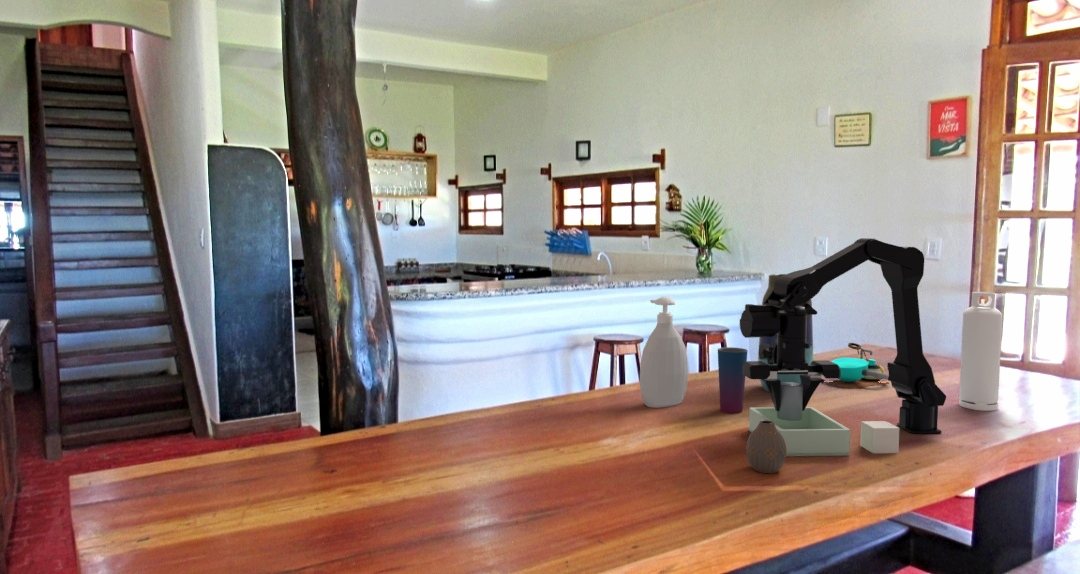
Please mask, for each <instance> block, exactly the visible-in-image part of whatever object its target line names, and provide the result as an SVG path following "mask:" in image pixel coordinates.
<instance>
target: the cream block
mask: <svg viewBox="0 0 1080 574" xmlns="http://www.w3.org/2000/svg"><path fill="white" fill-rule="evenodd" d="M899 443H900V427H899V426H897V425H894V424H893V423H891V422H888V421H886V420H885V421H884V420H875V421H874V420H873V421H872V420H869V421H868V420H867V421H865V420H864V421H862V420H861V421H860V444H859V445H860V446H861V448H864V449H866V450H867V451H869V452H870V453H871V454H899V447H900V445H899Z"/></svg>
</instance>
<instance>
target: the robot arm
mask: <svg viewBox="0 0 1080 574" xmlns="http://www.w3.org/2000/svg"><path fill="white" fill-rule="evenodd" d="M867 261H870V262H872V263H873V264H876V265H880V269H881V270H880V271H881V272H882V273H881V274H882V277H883V278H884V280H885V281H886V283H887V285H888V287H889V288H890V291H891V299H892V312H893V322H894V332H895V334H894V335H895V344H896V346H895V347H896V356H895V358H894V360H893V362H887V371H888V375H889V377H888V379H887V380H888V382H890V383H891V386H892V388H893V389H894V390H895V392H896V396H897V398H900V399H901V406H900V407H899V413H898V414H899V416H898V417H899V418H898V422H897V423H896V427H898V428H901V429H903V430H904V431H907V432H909V433H911V434H942V431H943V430H941V429H939V428H938V423H939V422H938V419H939V417H938V416H939V407H943V406H944V405H945V403H946V399H947V395H946V394H945V393H944V392H943V391H942V389H941V388H939V386H938V385H937V384H936V380H935V376H934V373H933V368H932V366H931V365H930V363H929V361H928V360H927V358H926V356H925V355H924V350H923V348H924V347H923V341H922V327H921V317H920V316H921V315H920V305H919V294H918V291H919V290H918V287H919V285H920V283H921V281H922V279H923V277H924V271H925V254H924V253H923V251H921V250H920V249H919V248H917V247H916V246H899V245H896V244H891V243H888V242H884V241H881V240H879V239H876V238H869V237H868V238H858V239H857V240H855V241H854V242H853V243H852V244H849V245H847V246H846V247H844V248H843V249H841V250H839V251H837V252H835V253H834V254H832V255H830V256H828V257H826V258H824V259H823V260H821V261H820V262H818V263H816V264H814V265H813V266H810V267H807V268H804V269H799V270H794V271H791V272H789V273H785V274H786V275H783V276H780V277H779V278H778V279H777V280H776V281H775V285H774V289H773V290H772V292H771V293H770V294H769V296H768V297H767V299H766V300H765V301H764V303H763V305H762V304H753V303H752V304H751V303H746V304H745V305H744V309H743V311H742V312H741V316H740V318H739V329H740V332H741V335H742V336H743V337H744V338H746V339H748V338H759V337H773V336H775V334H776V333H777V339H775V342H774V347H770V345H769V344H760V345H759V344H758V350H759V358H760V359H767V361H768V364H769V365H768V364H766V363H764V362H762V361H758V360H750V361H749V360H747V361H745V363H744V364H743V366H742V374H743V375H745V378H746V377H747V378H748V379H750V380H759V379H760V380H762V381H764V382H765V383H766V385H767V387H768V389H769V392H768V393H769V395H770V398H771V401H772V403H773V406H774V407H775V410H776V411H779V408H780V391H781V390H780V389H781V381H780V380H778V379H777V374H803V375H800V379H801V384H802V385H803V407H802V411H804V410H805V408H806V407H808V403H809V402H810V400H811V398H812V396H813V395H814V393H815V391H816V390H817V388H818V387H819V385H820V384H823V383H825V382H824V380H825V379H829V380H835V379H838V378H840V377H841V370H840V367H839V366H838V364H835V363H833V362H831V361H830V360H813V361H812V362H811V365H808V363H806V348H809V343H807V342H806V331H807V315H812V316H813V315H814V316H815V315H817V314H818V311H817V310H816V309H815V308H814V307H813V306H812V307H811V305H810V304H809V303H807V302H808V301H809V300H812V299H813V298H814V297H815V296H817V295H818V294H819V293H820V291H821V290H822V289H823V287H824V286H826V284H828V283H829V282H831V281H833V280H835V279H836V278H839V277H840V276H842V275H845V273H848V272H849V271H851V270H853V269H854V268H856V267H858V266H860V265H861V264H863V263H865V262H867ZM780 301H782V302H780ZM797 305H800V306H797ZM779 310H782V311H779ZM773 364H776V365H773ZM783 369H784V370H783ZM785 369H786V370H785ZM787 369H788V370H787ZM795 369H800V370H795ZM822 376H823V377H824V378H825V379H824V378H822Z"/></svg>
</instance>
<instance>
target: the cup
mask: <svg viewBox="0 0 1080 574" xmlns="http://www.w3.org/2000/svg"><path fill="white" fill-rule="evenodd" d="M748 352H749V351H748V349H747V348H742V347H719V348H717V365H718V367H717V368H718V387H719V389H718V390H719V392H718V393H719V408H720V409H719V410H720V412H722V413H724V414H731V415H735V414H742V413H743V409H744V397H745V383H746V376H745V375H743V374H742V366H743V364H744V363H745V361H748Z"/></svg>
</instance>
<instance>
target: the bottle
mask: <svg viewBox="0 0 1080 574" xmlns="http://www.w3.org/2000/svg"><path fill="white" fill-rule="evenodd" d="M981 296H982V297H987V298H988V300H987V302H986V303H985V301H986V299H983V298H982V299H980V301H981V302H980V303H979V298H980V297H981ZM995 303H996V293H995V292H990V291H972V292H971V306H970V307H968V308H966V309H965V310H964V311H963V312H962V327H961V328H962V331H961V348H960V349H961V352H960V369H959V370H960V372H959V373H960V374H959V391H958V392H959V395H958V396H959V399H958V405H959V406H960V407H963V408H966V409H969V410H976V411H983V412H988V411H990V412H991V411H996V410H998V408H999V403H998V401H999V390H1000V388H999V387H1000V372H1001V368H1000V367H1001V354H1002V353H1001V352H1002V350H1001V349H1002V348H1001V347H1002V333H1003V332H1002V331H1003V314H1002V312H1001V311H1000V310H999V309H998V308H996V305H995Z"/></svg>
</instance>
